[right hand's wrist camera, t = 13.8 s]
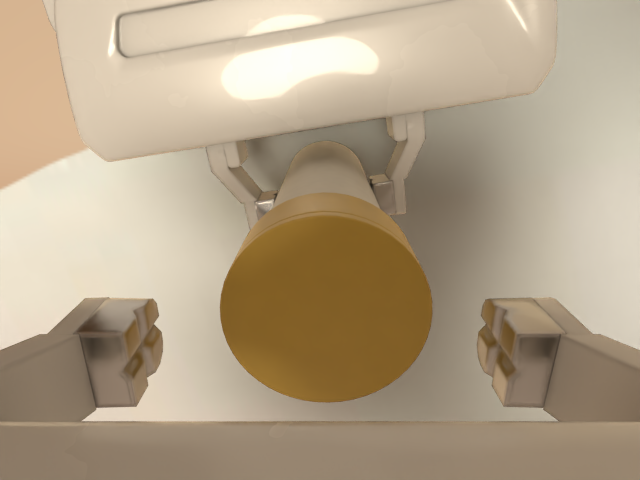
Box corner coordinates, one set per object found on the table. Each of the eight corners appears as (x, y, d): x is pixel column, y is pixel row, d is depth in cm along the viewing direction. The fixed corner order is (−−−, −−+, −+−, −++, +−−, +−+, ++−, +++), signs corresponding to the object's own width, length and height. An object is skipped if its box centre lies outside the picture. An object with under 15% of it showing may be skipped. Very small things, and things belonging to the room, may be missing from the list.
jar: (316, 124, 25) (303, 188, 10) (379, 170, 26) (451, 291, 11) (273, 188, 27) (204, 325, 12) (334, 229, 27) (343, 407, 12)
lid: (303, 153, 12) (298, 169, 10) (452, 260, 13) (477, 296, 11) (204, 296, 13) (181, 337, 11) (343, 380, 14) (346, 433, 12)
